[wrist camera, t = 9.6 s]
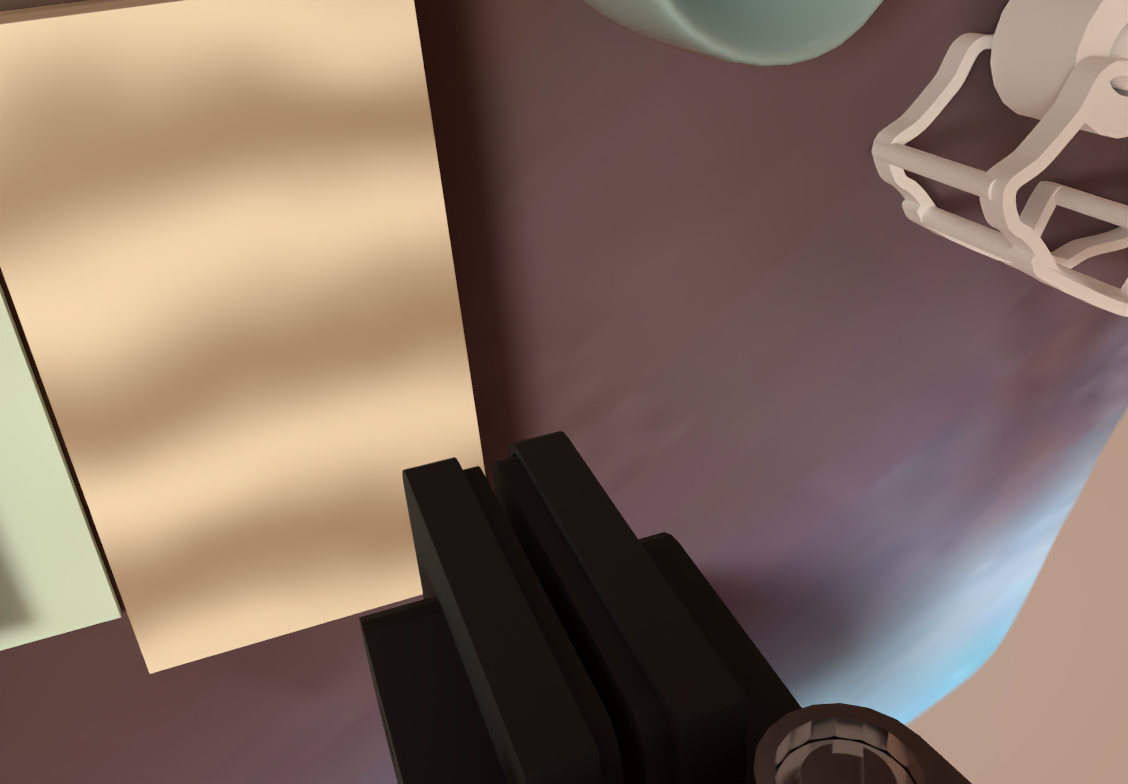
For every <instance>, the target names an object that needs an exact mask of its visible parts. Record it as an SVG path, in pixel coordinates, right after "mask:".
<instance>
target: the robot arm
mask: <svg viewBox="0 0 1128 784" xmlns="http://www.w3.org/2000/svg"><path fill="white" fill-rule="evenodd" d="M493 474H494V483H495V491H496V496H495V494H494V492H493V490H492V488H491V486H490V484H489V482H488V480H487V478H486V476H485V475H484V473H483V471H482V469H481V468H480V466H476V467H472V468H468V469H464V470H463V469H462V467H461V465H460V463H459V461H458V460H457V458H455V457H453V458H449V459H445V460H441V461H437V462H433V463H429V464H425V465H421V466H417V467H412V468H408V469H404V470H403V471H402V476H403V484H404V490H405V496H406V502H407V507H408V513H409V518H410V524H411V530H412V535H413V541H414V546H415V552H416V558H417V563H418V569H419V574H420V580H421V586H422V591H423V597H424V600H420V601H417V602H413V603H410V604H406V605H402V606H399V607H395V608H392V609H388V610H385V611H381V612H377V613H374V614H370V615H367V616H363V617H360V618H359V620H360V625H361V630H362V635H363V639H364V644H365V648H366V653H367V657H368V662H369V666H370V671H371V675H372V680H373V684H374V689H375V693H376V697H377V701H378V706H379V710H380V714H381V718H382V722H383V726H384V730H385V735H386V739H387V743H388V747H389V751H390V755H391V759H392V763H393V766H394V770H395V774H396V778H397V782H398V784H972V783H970V782H969V781H968V780H967V779H966V778H965V777H964V776H963V775H962V774H961V773H960V772H958V771H957V770H956V769H955V768H954V767H953V766H952V765H951V764H950V763H949V762H948V761H946V760H945V759H944V758H943V757H942V756H941V755H940V754H939V753H938V752H937V751H935V750H934V749H933V748H932V747H931V746H930V745H929V744H928V743H927V742H926V741H924V740H923V739H922V738H921V737H920V736H919V735H917V734H916V733H915V732H913V731H912V730H910V729H909V728H908V727H906V726H905V725H903V724H902V723H901V722H899V721H898V720H896V719H894V718H892V717H889V716H887V715H885V714H882V713H880V712H877V711H875V710H872V709H870V708H866V707H860V706H854V705H848V704H842V703H835V704H819V705H811V706H808V707H805V708H801V706H800V705H799V704H798V702H797V701H796V700H795V698H794V697H793V696H792V694H791V693H790V692H789V690H788V689H787V688H786V686H785V685H784V684H783V682H782V681H781V679H780V678H779V677H778V675H777V674H776V673H775V671H774V670H773V669H772V667H771V666H770V665H769V663H768V662H767V661H766V659H765V658H764V657H763V655H762V654H761V653H760V651H759V650H758V648H757V647H756V646H755V644H754V643H753V642H752V640H751V639H750V638H749V636H748V635H747V634H746V632H745V631H744V630H743V628H742V627H741V626H740V624H739V623H738V622H737V620H736V619H735V617H734V616H733V615H732V613H731V612H730V611H729V609H728V608H727V607H726V605H725V604H724V603H723V601H722V600H721V599H720V597H719V596H718V595H717V593H716V592H715V591H714V589H713V588H712V587H711V585H710V584H709V582H708V581H707V580H706V578H705V577H704V576H703V574H702V573H701V572H700V570H699V569H698V568H697V566H696V565H695V564H694V562H693V561H692V560H691V558H690V557H689V556H688V554H687V553H686V551H685V550H684V549H683V547H682V546H681V545H680V543H679V542H678V541H677V540H676V539H675V538H674V537H673V536H672V535H670V534H668V533H665V532H663V533H660V534H656V535H652V536H649V537H645V538H642V539H637V537H636V536H635V534H634V533H633V531H632V530H631V528H630V527H629V525H628V524H627V523H626V521H625V520H624V518H623V517H622V515H621V514H620V512H619V511H618V509H617V508H616V507H615V505H614V504H613V502H612V501H611V499H610V498H609V496H608V495H607V493H606V492H605V491H604V489H603V488H602V486H601V485H600V483H599V482H598V480H597V479H596V477H595V476H594V475H593V473H592V472H591V470H590V469H589V467H588V466H587V464H586V463H585V461H584V460H583V459H582V457H581V456H580V454H579V453H578V451H577V450H576V448H575V447H574V445H573V444H572V443H571V441H570V440H569V438H568V437H567V436H566V434H565V433H564V432H561V431H559V432H555V433H551V434H547V435H543V436H539V437H535V438H531V439H526V440H522V441H518V442H514V443H511V444H510V446H509V458H508V459H504V460H500V461H496V462H494V464H493Z"/></svg>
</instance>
